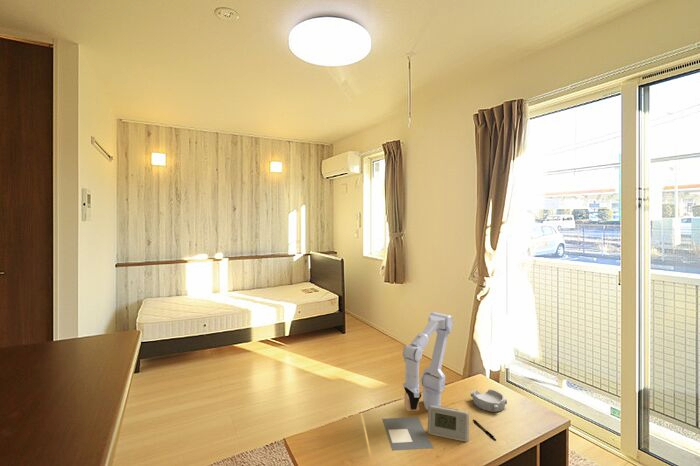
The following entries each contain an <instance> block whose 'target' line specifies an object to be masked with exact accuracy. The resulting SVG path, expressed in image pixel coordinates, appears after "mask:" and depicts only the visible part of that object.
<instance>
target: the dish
mask: <svg viewBox="0 0 700 466" xmlns="http://www.w3.org/2000/svg"><path fill="white" fill-rule="evenodd" d="M470 396H471V397H472V401H473V404H474V405H475V406H476V407H477V408H479V409H481V410H483V411H487V412H490V413H491V412H493V413H498V412H501V411H503V410H504V409H505V407H506V405H508V399H507V398H505V396H504V395H503V394H502V393H501V392H499V391H497V390H495V389H492V388H490V389H488V390H487V391H486V392H484V393H481V392H479V391H478V390H477V389H475V390H473V391H470Z"/></svg>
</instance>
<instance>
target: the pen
mask: <svg viewBox="0 0 700 466" xmlns="http://www.w3.org/2000/svg"><path fill="white" fill-rule="evenodd" d="M472 422H473V424H474V425H475V426H476V427H477V428H480V429H481V430H482V431H484V433H485V434H486V435H488V437H490V438H491V439H493V440H494V441H497V439H496V438H495V436H494V435H493V434H492V433H491V432H490V431H488V430H487V429H486V428H484V426H482V425H481V424H480V423H479V422H478V421H477V420H476V419H473V420H472Z"/></svg>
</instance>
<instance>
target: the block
mask: <svg viewBox="0 0 700 466" xmlns="http://www.w3.org/2000/svg"><path fill="white" fill-rule="evenodd" d="M403 395H404V398H403V401H404V402H403V403H404V406H405V409H406V411H407V412H410V411H420V400H419V401H418V405H417V408H416V410H411V407H410V400H409V396H408V394H407V393H406V392H404V394H403Z"/></svg>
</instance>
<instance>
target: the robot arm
mask: <svg viewBox="0 0 700 466" xmlns="http://www.w3.org/2000/svg"><path fill="white" fill-rule="evenodd" d="M453 325H454V319H453V317H452V315H449V314H444V313H441V312H440V313H439V312H436V311H432V312H430V314H429V315H428V322H427V324H426V326H424V327H425V328H424V329H423V331H422V332H420V333H419V332H418V334H417V335H416V336H415V337H414V338H413V340H412V341H411V342H410V343H409V344H407V345H405V346H404V347H403V351H402V357H403V358H404V359H403V361H404V363H405V370H404V371H405V375H404V376H405V378H404V379H405V381H404V383H402V387H403V389H404V391H405V392H404V393H407V394H408V396H409V400H410V407H411V410H415V411H417V410H416V408H417V405H418V401H419V402H420V399H421V398H422V403H423V405H424V408H425V410H426V411H428V408H429V405H434V406H441V401H442V392H443V391H444V390H445V388H446V375H445V374H444V372H443V371H442V366H443V362H444V356H445V352H446V347H447V342H448V338H449V335H450V334H451V333H452V331H453ZM435 332H436V337H435V342H434V346H433V350H432V351H433V352H432V356H431V361H430V365H429V367H426V368H425V369H424V370H423V373H422V375H421V378H420V361H421V360H422V357H423V354H424V350H425V349H426V348H427V346H428V344H429V343H430V340H429V338H431V336H432V335H433V334H434V333H435ZM420 383H421V386H422V387H423V388H422V393H421V392H420Z"/></svg>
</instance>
